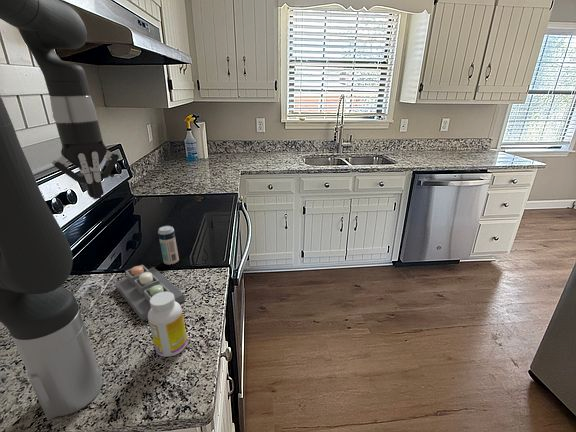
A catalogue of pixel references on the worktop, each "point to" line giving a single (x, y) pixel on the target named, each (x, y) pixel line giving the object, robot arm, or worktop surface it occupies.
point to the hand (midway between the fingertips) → (97, 197)
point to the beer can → (168, 245)
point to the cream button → (145, 278)
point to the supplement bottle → (167, 324)
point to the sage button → (156, 290)
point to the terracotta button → (137, 270)
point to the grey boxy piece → (144, 291)
